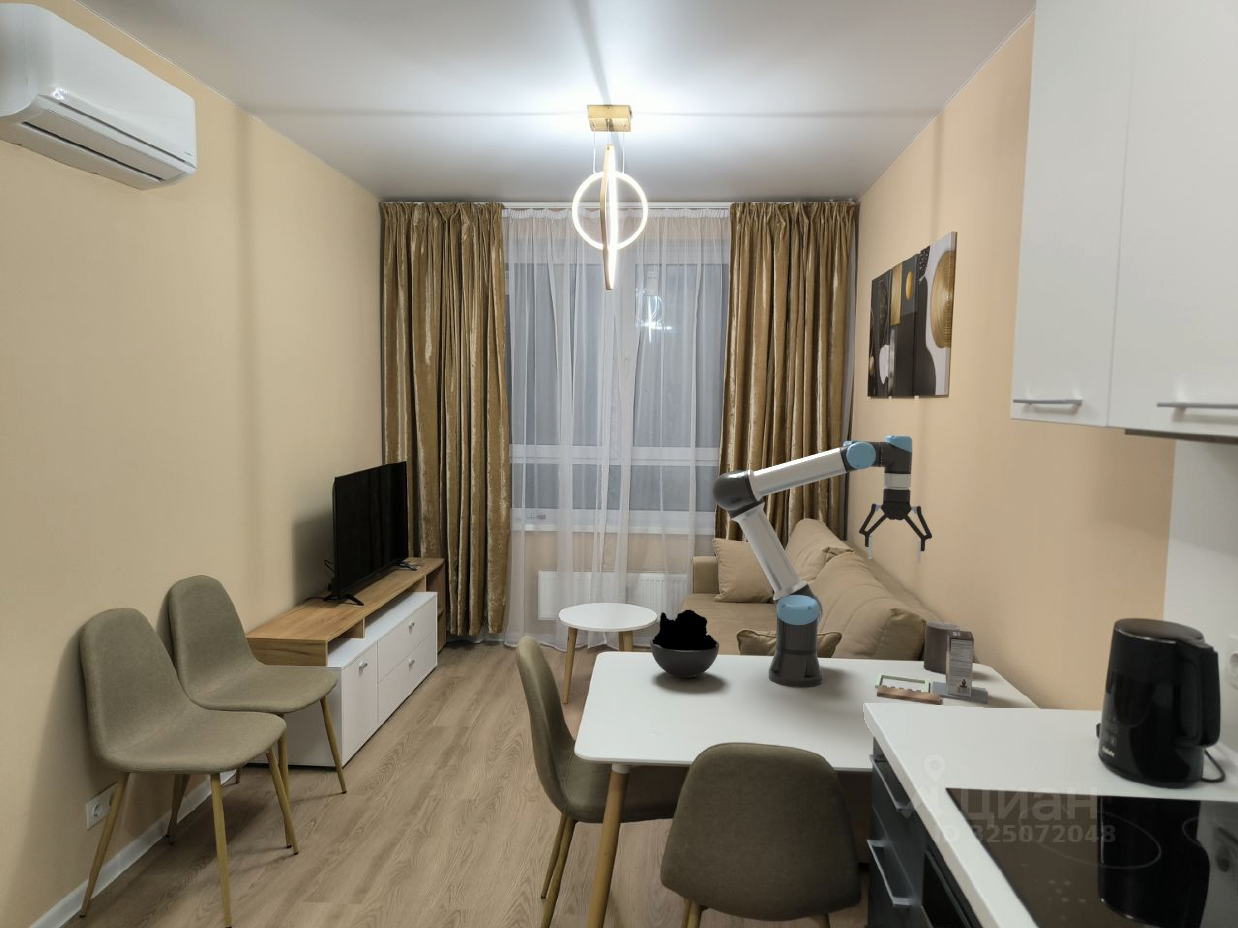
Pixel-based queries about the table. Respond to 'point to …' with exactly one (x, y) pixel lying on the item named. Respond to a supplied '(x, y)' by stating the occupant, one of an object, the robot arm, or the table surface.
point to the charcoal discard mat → (976, 695)
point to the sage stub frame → (902, 679)
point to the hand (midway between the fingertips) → (893, 560)
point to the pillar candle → (937, 645)
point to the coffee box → (959, 662)
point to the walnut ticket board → (908, 695)
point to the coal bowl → (684, 645)
